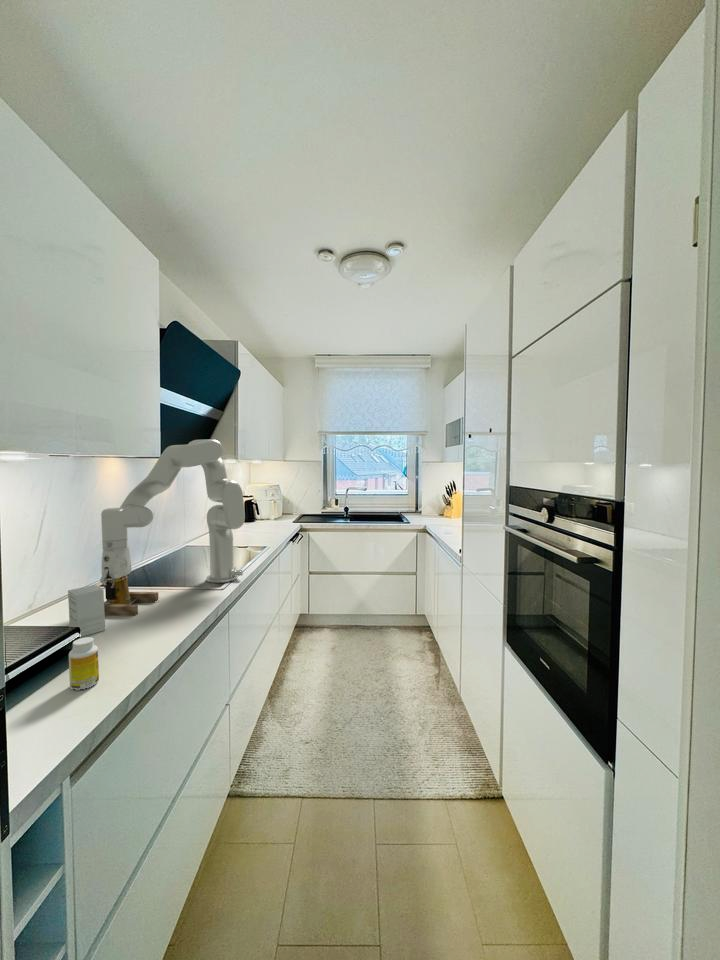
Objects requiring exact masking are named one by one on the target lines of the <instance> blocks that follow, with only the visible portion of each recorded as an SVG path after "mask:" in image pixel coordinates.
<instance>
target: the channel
mask: <svg viewBox="0 0 720 960" xmlns="http://www.w3.org/2000/svg"><path fill="white" fill-rule="evenodd" d="M129 594H130V599H131V600H134V599H137V598H138V599H137V600H136V601H134V602H133V603H156V602H155V601H157V600H158V599H159V592H158V591H129ZM107 601H110V600H107V599H106V602H107ZM151 601H152V602H151ZM158 601H159V600H158ZM158 601H157V602H158ZM104 614H105V616H119V617H120V616H121V617H122V616H125V617H128V616H131V617H134V616H135V617H136V616H137V615H138V614H139V604H130V605H129V604H110V603H108V604H106V603H104Z"/></svg>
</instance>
